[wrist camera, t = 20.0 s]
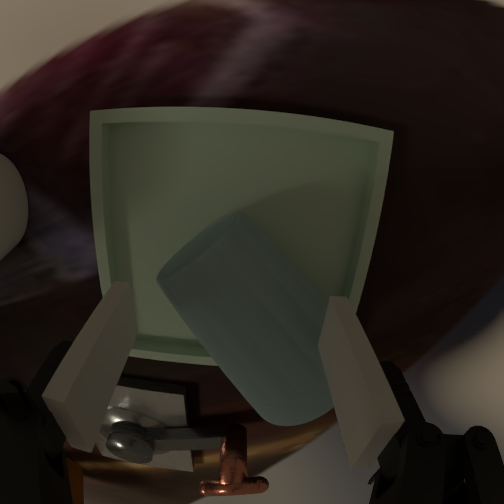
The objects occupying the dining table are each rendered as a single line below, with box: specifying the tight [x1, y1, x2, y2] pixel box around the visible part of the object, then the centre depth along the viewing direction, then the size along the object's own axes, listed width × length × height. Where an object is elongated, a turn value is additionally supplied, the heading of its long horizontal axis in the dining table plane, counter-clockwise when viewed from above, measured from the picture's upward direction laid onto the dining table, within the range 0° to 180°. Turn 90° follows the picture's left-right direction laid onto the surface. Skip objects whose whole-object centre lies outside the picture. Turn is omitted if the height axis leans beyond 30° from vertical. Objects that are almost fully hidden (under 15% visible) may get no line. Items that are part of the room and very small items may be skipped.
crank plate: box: [95, 376, 194, 472], centre depth 28 cm, size 12×16×1 cm
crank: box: [106, 421, 269, 496], centre depth 23 cm, size 16×5×7 cm, turn 102°
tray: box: [89, 107, 394, 366], centre depth 19 cm, size 17×17×2 cm
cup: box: [156, 211, 334, 426], centre depth 17 cm, size 8×8×10 cm
